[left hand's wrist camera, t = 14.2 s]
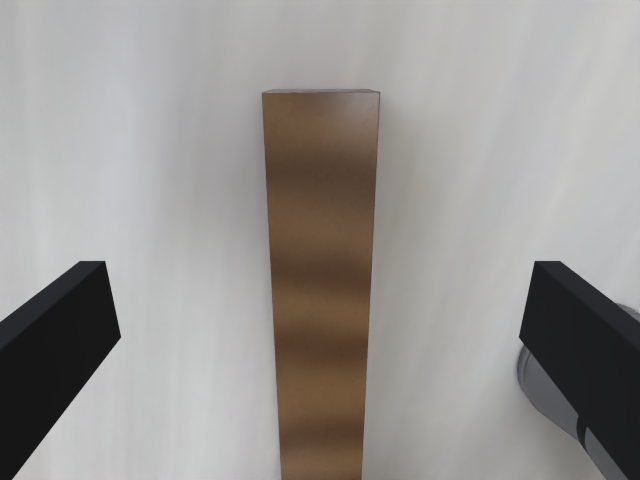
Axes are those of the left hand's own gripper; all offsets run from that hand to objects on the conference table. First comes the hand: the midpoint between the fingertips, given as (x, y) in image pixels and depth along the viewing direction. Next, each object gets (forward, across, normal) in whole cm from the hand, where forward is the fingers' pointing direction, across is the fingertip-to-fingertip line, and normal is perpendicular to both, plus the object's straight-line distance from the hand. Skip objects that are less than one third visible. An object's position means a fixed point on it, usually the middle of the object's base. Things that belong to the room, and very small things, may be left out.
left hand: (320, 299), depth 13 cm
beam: (+28, 0, -27) cm, 38 cm away
